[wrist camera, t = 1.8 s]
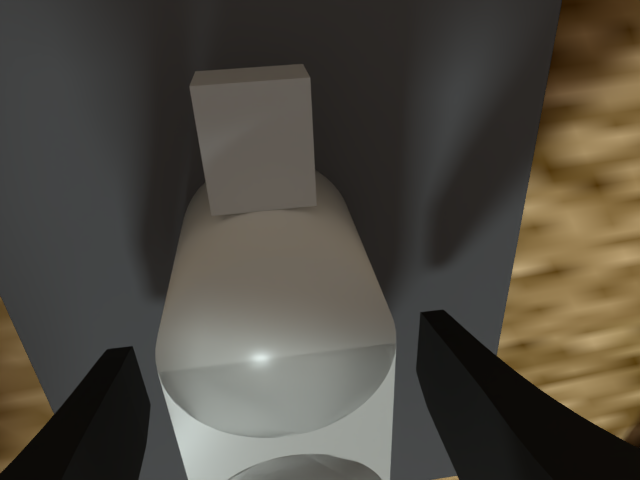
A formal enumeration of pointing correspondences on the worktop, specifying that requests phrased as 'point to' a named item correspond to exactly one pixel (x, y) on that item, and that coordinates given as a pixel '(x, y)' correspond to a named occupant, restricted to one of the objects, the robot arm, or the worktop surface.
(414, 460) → the rubber mat
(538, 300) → the worktop surface
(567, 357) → the worktop surface
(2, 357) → the worktop surface
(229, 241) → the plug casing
